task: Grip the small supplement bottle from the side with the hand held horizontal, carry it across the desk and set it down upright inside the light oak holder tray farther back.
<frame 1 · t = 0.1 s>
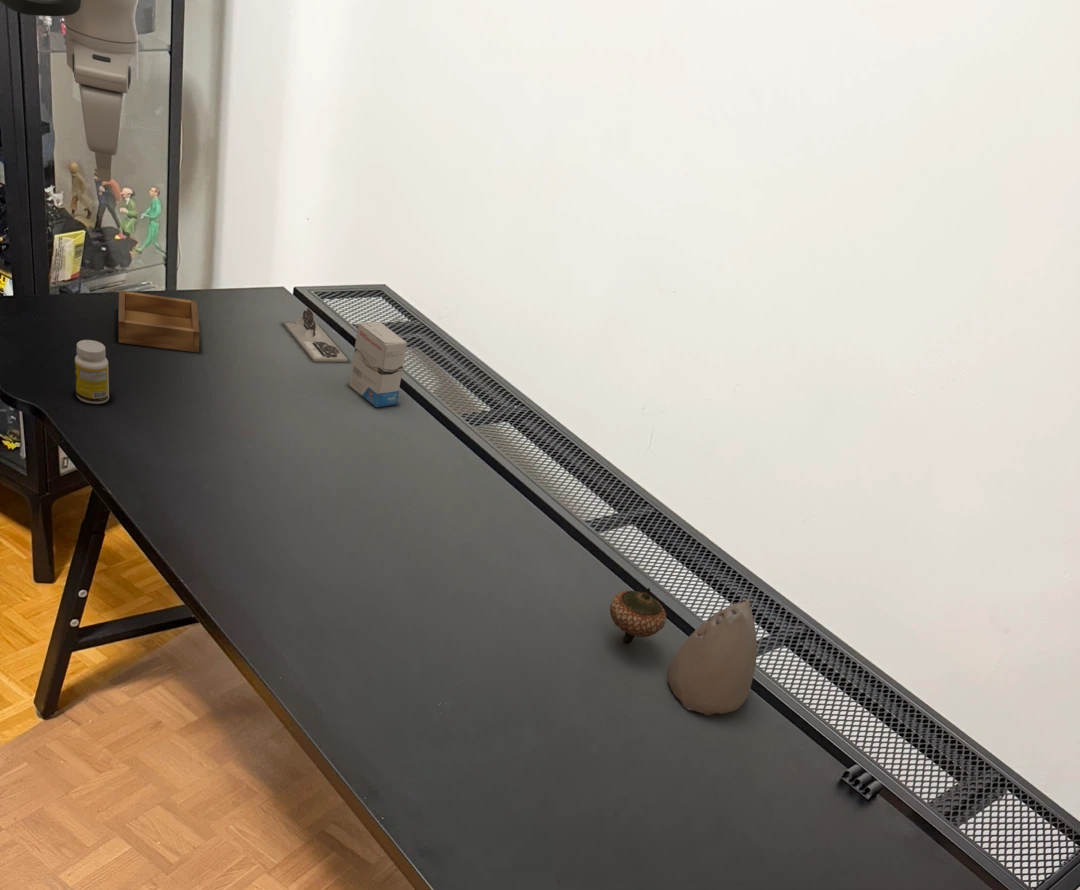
hand: (104, 168, 144), 31 cm above the table, tool pointing down, fingers open, 8 cm apart
acorn: (625, 645, 146), on the table
sculpture: (704, 690, 143), on the table
supplement bottle: (92, 398, 158), on the table
holder: (158, 331, 180), on the table
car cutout: (315, 344, 193), on the table
ink box: (372, 396, 183), on the table
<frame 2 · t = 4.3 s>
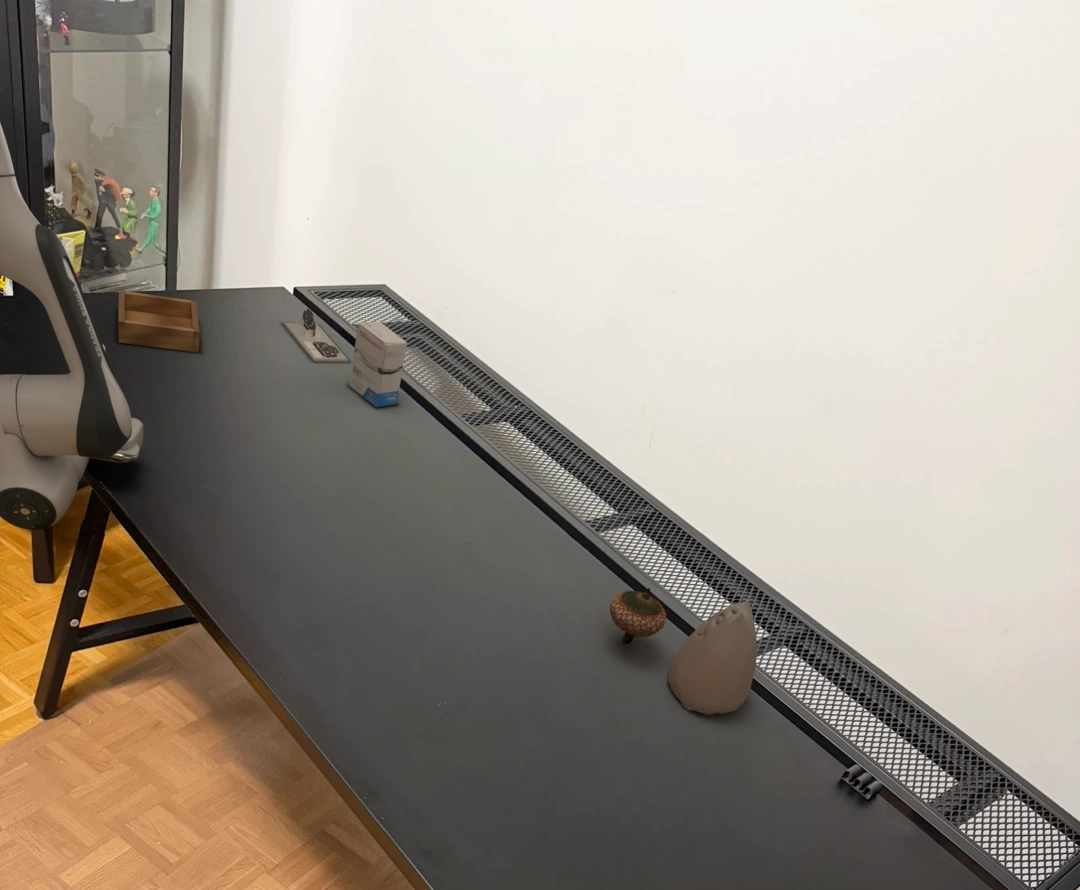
hand: (75, 402, 146), 5 cm above the table, tool horizontal, fingers open, 8 cm apart
nothing on the table moved.
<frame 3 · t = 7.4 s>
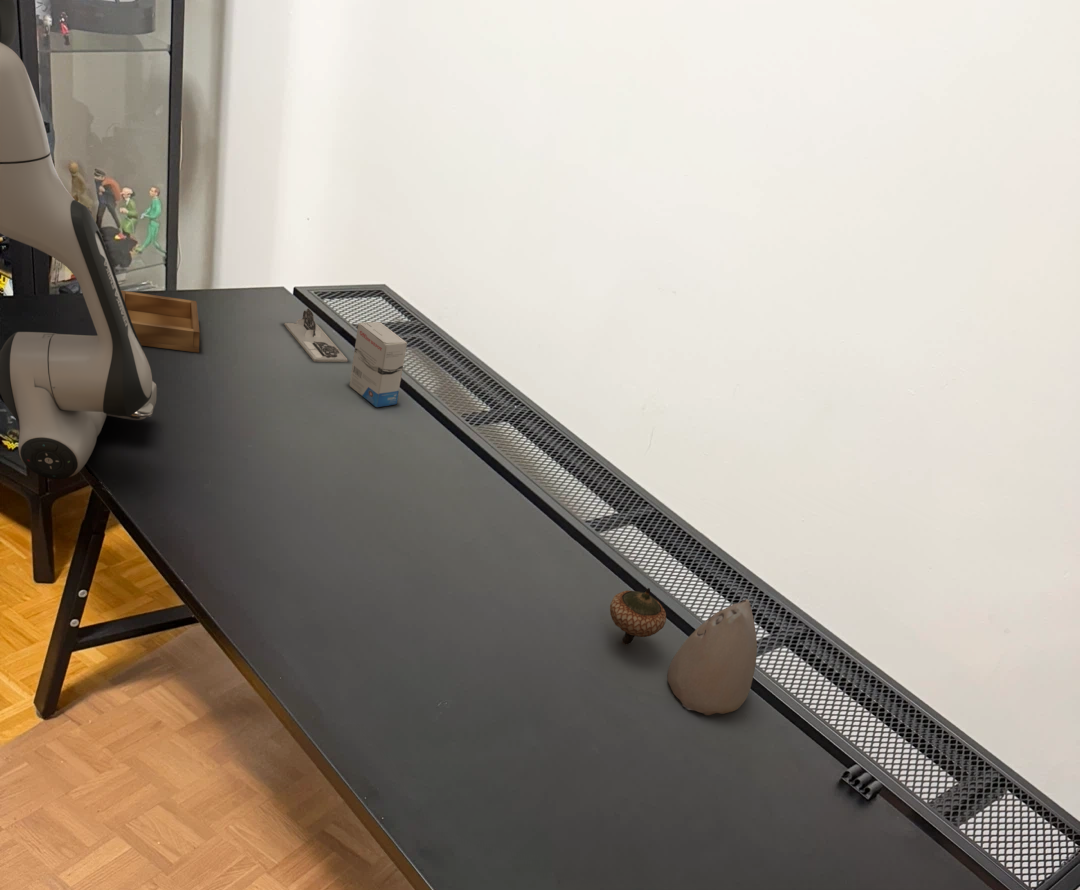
hand: (92, 364, 155), 5 cm above the table, tool horizontal, fingers closed on supplement bottle, 5 cm apart
supplement bottle: (92, 398, 158), on the table, touching gripper
everything else where it was.
when the fingers open (6 cm above the table, at t = 17.1 s): supplement bottle stays where it is, resting on holder.
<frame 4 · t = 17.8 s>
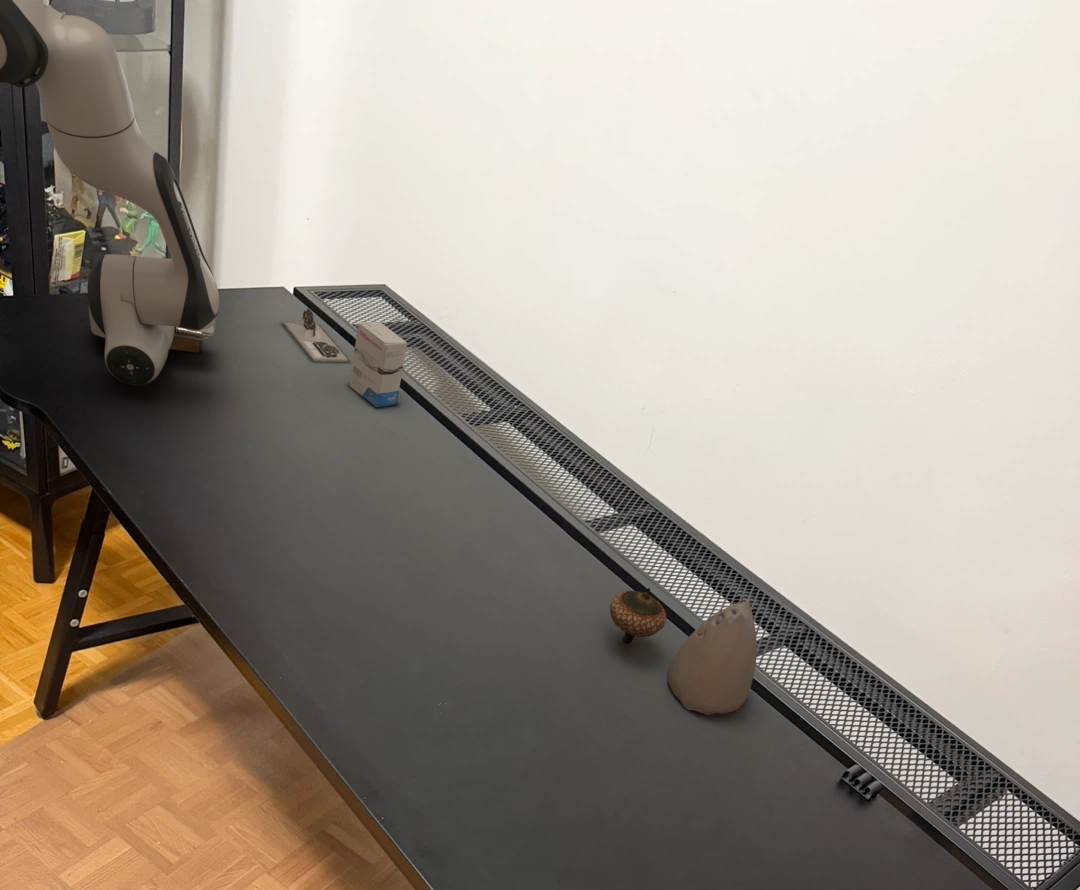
hand: (159, 293, 176), 6 cm above the table, tool horizontal, fingers open, 8 cm apart
supplement bottle: (159, 328, 179), point 1 cm above the table, touching holder
everything else where it was.
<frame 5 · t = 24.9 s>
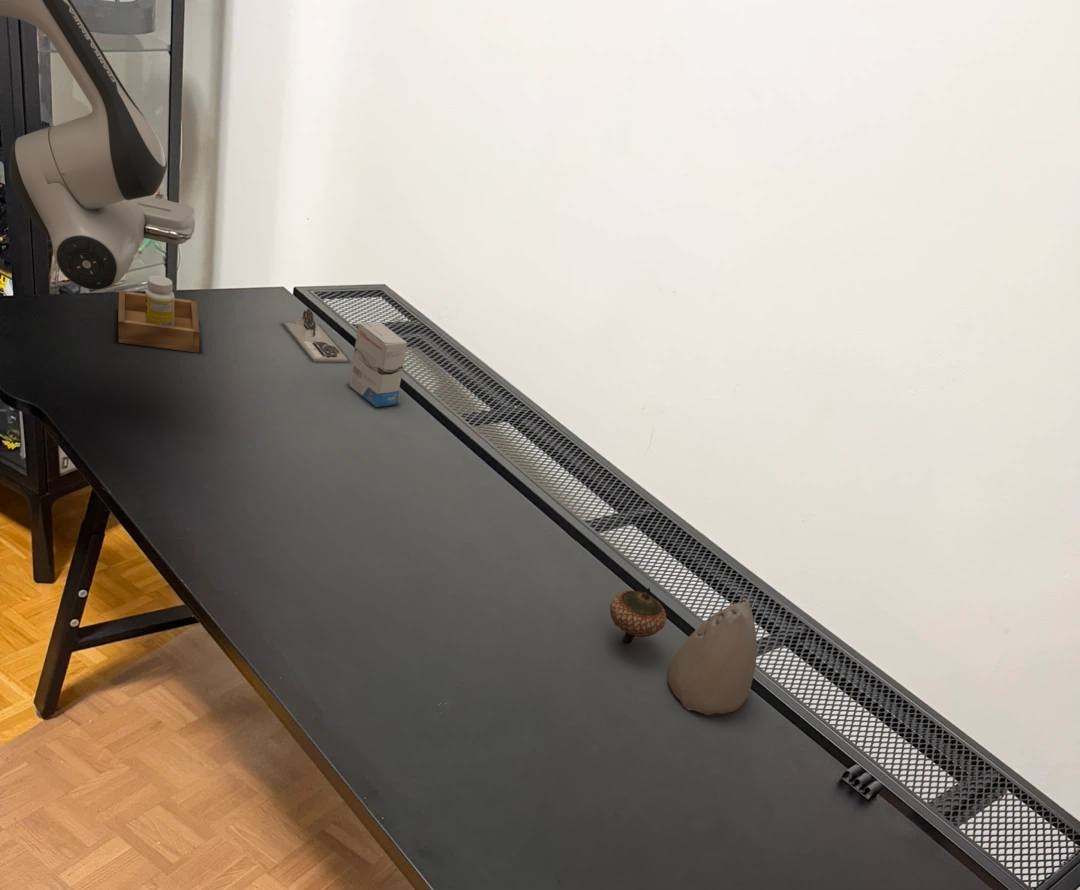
hand: (127, 192, 149), 28 cm above the table, tool horizontal, fingers open, 8 cm apart
nothing on the table moved.
at the end: supplement bottle inside the target area in the holder (0.3 cm from its centre), point 0.6 cm above the holder's base; supplement bottle tilted 0°; the gripper is holding nothing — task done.
